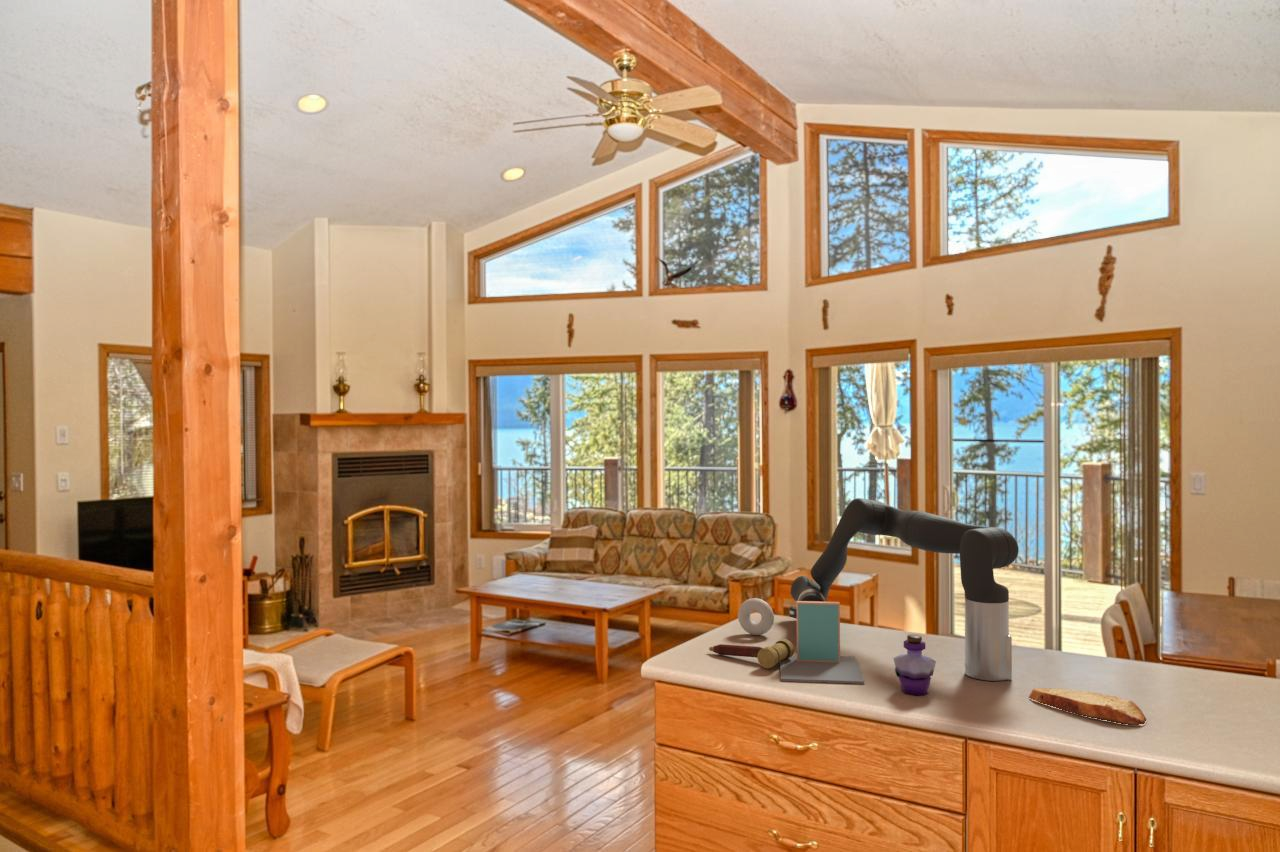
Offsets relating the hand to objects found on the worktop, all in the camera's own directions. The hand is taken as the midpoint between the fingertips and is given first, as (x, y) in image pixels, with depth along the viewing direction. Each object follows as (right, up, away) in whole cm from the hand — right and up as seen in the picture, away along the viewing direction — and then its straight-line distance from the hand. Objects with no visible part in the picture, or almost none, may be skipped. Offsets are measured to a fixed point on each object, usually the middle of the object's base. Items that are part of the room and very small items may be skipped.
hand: (815, 620), depth 215 cm
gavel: (-18, -8, -7) cm, 21 cm away
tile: (-2, -7, -11) cm, 13 cm away
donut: (-13, -8, +16) cm, 22 cm away
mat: (-2, -8, -16) cm, 18 cm away
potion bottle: (+14, -8, -32) cm, 36 cm away
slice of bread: (+45, -8, -44) cm, 64 cm away
